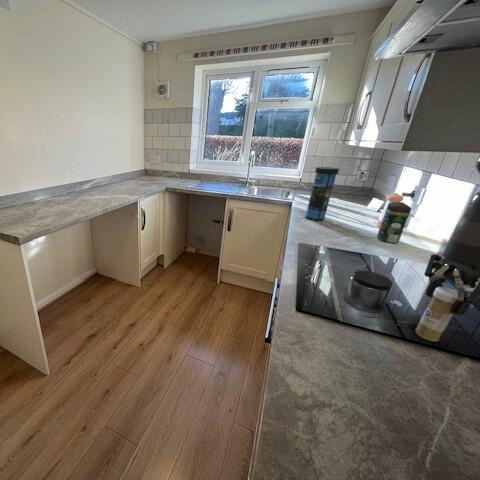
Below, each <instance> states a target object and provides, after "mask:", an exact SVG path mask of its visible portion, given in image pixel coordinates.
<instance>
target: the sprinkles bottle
mask: <svg viewBox="0 0 480 480" xmlns="http://www.w3.org/2000/svg"><path fill="white" fill-rule="evenodd" d="M456 299H458V291H457V290H456V289H453V288H449V287H444V286H443V287H437V288H436V289H435V291H434V293H433V297H431V299H430V301H429V303H428V305H427V307H426V309H425V311H424V312H423V314H422V316H421V318H420V320H419V323H418V324H417V326H416V328H415V329H414V333H415V334H416V336H418V337H419V338H421V339H423V340H426V341H428V342H435V343H436V342H439V341H440V338H441V336H442V334H443V333H444V331H445V330H446V328H447V326H448V324H449V322H450V321H451V319H452V317H453V314H452V313H450V310H451V308H452V306H453V305H454V303H455V301H456Z"/></svg>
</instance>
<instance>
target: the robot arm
mask: <svg viewBox="0 0 480 480" xmlns="http://www.w3.org/2000/svg"><path fill="white" fill-rule="evenodd" d="M475 169H476V171H477V173H478V174H479V175H480V155H479V156H478V158H477V160H476V163H475ZM429 257H430V258H429V261H428V263H427V266H426V269H425V270H424V276H425V277H427V278H429V279H428V281H429V283H428V285H427V288H426V290H425V296H427V297H429V298H432V297H433V293H434V291H435V289H436V288H437V287H444V284H445V283H446V282H447V281H451V282H452V283H453V284H454V290H455V291H457V292H458V299H456V301H455V303H454V305H453V306H452V308H451V310H450V313H452V314H453V315H454V316H463V315H466V314H467V313H468V311H469V309H470V307H471V305H479V306H480V191H478V192H476V193H474V194H473V196H472V197H471V199H470V201H469V202H468V204H467V206H466V208H465V210H464V212H463V215H462V216H461V218H460V220H459V221H458V223H457V224H456V226H455V228H454V230H453V232H452V233H451V235H450V238H449V239H448V242H447V243H446V246H445V248H444V250H443V253H442V254H439V253H437V254H436V253H432V254H431V255H430V256H429ZM466 286H469V287H466ZM466 292H467V294H466ZM453 315H452V316H453Z"/></svg>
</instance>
